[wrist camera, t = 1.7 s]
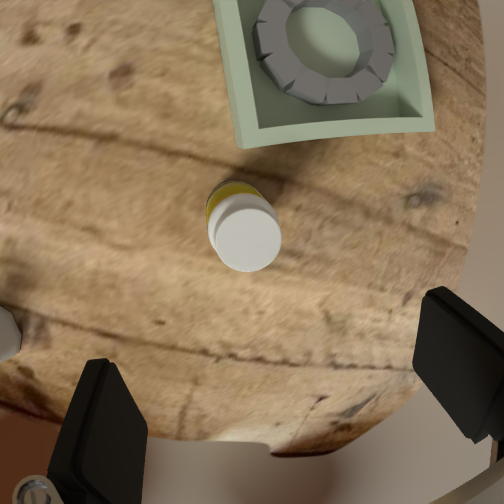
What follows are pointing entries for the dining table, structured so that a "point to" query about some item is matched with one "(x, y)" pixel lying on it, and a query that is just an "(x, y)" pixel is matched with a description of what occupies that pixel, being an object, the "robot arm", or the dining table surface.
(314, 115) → the socket box
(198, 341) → the dining table surface
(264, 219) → the supplement bottle
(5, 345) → the flask
